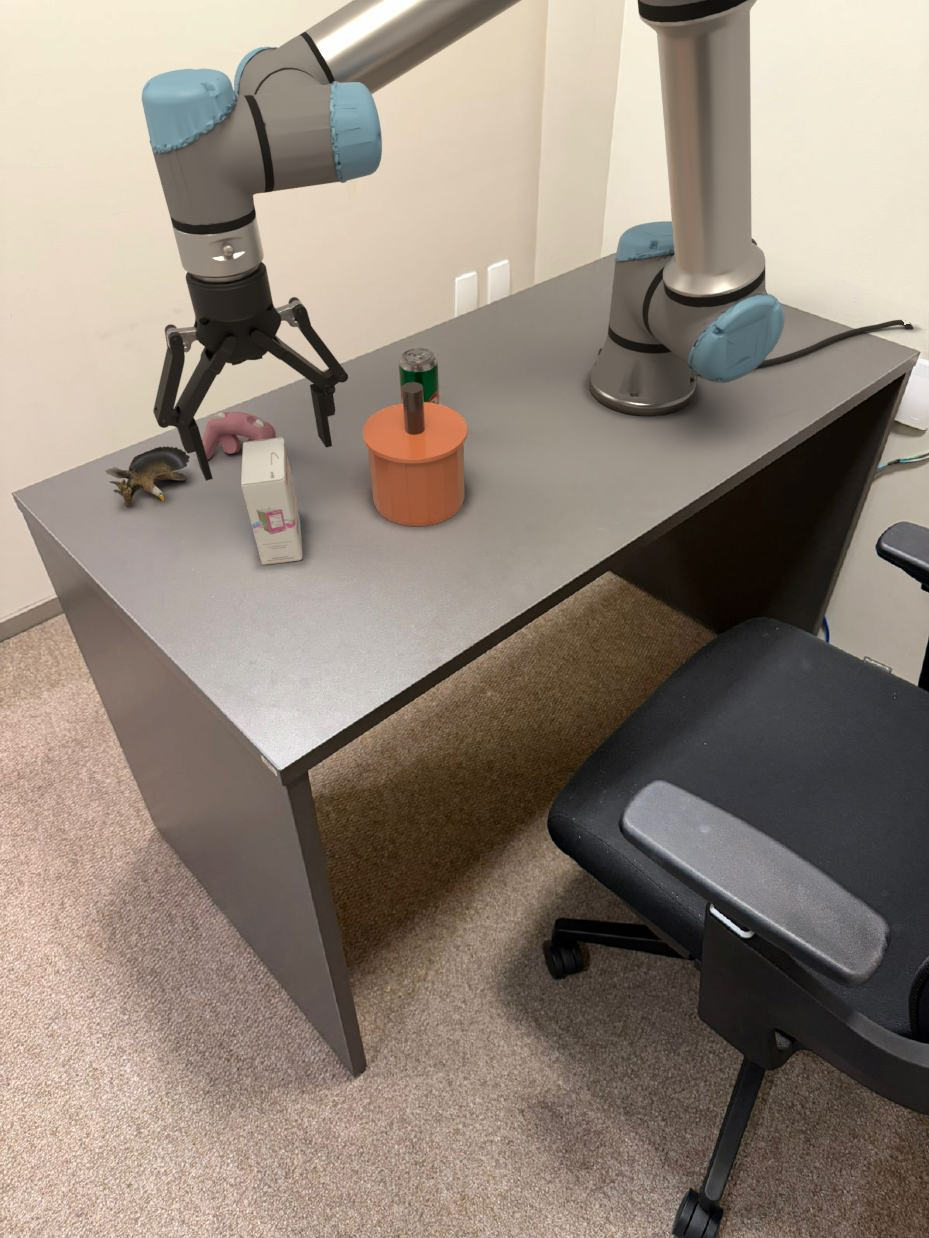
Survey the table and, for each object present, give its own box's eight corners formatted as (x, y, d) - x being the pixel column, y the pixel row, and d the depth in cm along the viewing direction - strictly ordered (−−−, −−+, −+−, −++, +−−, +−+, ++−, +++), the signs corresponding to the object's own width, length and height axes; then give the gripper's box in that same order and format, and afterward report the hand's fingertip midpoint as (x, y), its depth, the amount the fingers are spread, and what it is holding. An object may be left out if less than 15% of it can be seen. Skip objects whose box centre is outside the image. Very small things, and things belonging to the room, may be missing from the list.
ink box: (260, 521, 106) (241, 438, 98) (301, 516, 106) (286, 434, 98) (259, 566, 100) (239, 482, 92) (303, 561, 100) (287, 477, 92)
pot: (441, 463, 114) (439, 400, 108) (479, 510, 107) (479, 445, 100) (361, 486, 111) (353, 422, 104) (394, 536, 103) (388, 471, 97)
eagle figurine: (151, 516, 105) (203, 470, 109) (109, 470, 102) (164, 424, 106) (132, 520, 111) (182, 477, 115) (92, 477, 108) (145, 433, 112)
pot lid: (441, 401, 108) (439, 352, 104) (485, 451, 100) (485, 400, 96) (348, 425, 105) (342, 375, 100) (386, 478, 97) (381, 427, 92)
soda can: (435, 447, 117) (432, 366, 108) (399, 443, 118) (393, 363, 109) (443, 427, 120) (441, 347, 112) (408, 424, 121) (403, 344, 113)
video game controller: (278, 470, 116) (281, 417, 114) (260, 474, 112) (264, 420, 110) (214, 457, 119) (216, 405, 116) (195, 461, 114) (196, 407, 112)
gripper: (93, 311, 74) (160, 506, 89) (363, 254, 82) (383, 444, 97) (81, 278, 79) (147, 469, 94) (337, 228, 86) (360, 412, 101)
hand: (267, 457), depth 95 cm, fingers open, 13 cm apart
